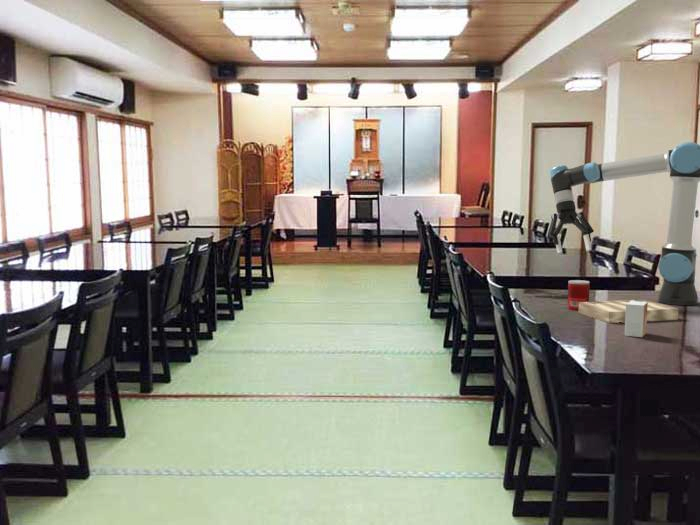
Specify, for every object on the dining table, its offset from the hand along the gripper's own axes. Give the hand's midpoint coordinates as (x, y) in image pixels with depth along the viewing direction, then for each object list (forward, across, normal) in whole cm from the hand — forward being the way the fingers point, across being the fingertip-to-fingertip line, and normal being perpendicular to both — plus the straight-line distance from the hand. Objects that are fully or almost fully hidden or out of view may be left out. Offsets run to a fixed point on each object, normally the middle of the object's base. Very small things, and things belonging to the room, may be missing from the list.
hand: (574, 251), depth 282 cm
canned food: (+25, +9, +8) cm, 28 cm away
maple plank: (+31, -1, +24) cm, 39 cm away
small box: (+39, +16, +50) cm, 66 cm away
